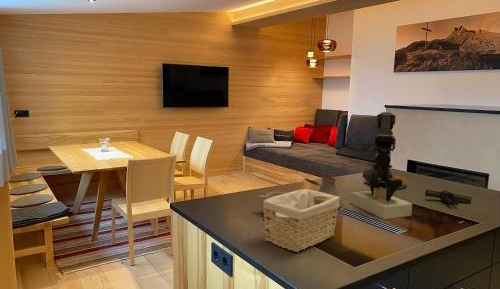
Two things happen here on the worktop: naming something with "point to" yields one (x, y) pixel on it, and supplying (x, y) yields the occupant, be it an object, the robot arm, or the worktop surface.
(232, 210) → the worktop surface
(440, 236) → the worktop surface
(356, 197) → the well box
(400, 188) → the pie
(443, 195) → the black irregular piece
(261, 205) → the teacup
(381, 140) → the robot arm
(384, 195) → the wooden block
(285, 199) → the storage basket
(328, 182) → the coffee pot
